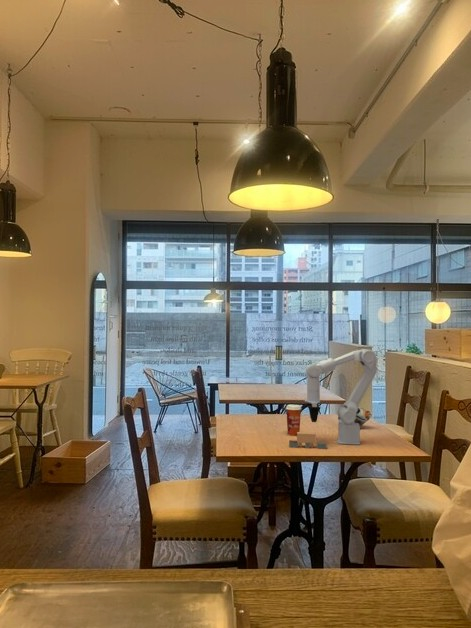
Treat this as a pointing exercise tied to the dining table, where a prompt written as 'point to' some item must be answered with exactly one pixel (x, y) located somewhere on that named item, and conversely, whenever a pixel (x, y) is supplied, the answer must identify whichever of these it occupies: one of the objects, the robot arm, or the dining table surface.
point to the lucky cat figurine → (361, 416)
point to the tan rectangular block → (306, 438)
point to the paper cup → (293, 419)
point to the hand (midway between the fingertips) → (313, 420)
